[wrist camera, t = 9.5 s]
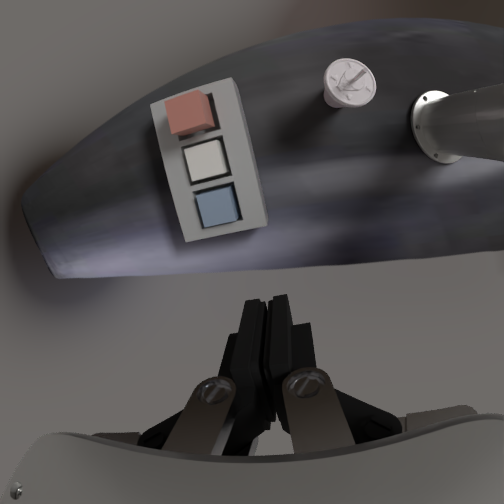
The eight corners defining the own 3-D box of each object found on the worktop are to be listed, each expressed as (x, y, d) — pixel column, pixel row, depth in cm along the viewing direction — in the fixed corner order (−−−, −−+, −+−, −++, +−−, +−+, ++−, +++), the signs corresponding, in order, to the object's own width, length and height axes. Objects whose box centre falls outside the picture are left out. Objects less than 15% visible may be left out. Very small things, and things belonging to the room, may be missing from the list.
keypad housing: (237, 86, 35) (231, 77, 30) (268, 217, 42) (267, 225, 37) (164, 109, 37) (150, 104, 32) (195, 232, 44) (185, 242, 39)
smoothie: (363, 104, 34) (400, 84, 21) (331, 124, 36) (357, 110, 23) (338, 71, 33) (364, 37, 20) (305, 90, 35) (318, 60, 22)
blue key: (233, 184, 39) (228, 187, 35) (240, 213, 40) (236, 220, 36) (204, 191, 40) (195, 195, 36) (212, 219, 41) (204, 227, 37)
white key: (223, 141, 37) (216, 139, 33) (230, 170, 38) (224, 173, 34) (194, 149, 38) (184, 149, 33) (201, 178, 39) (192, 181, 35)
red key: (207, 96, 32) (198, 89, 28) (214, 126, 33) (206, 123, 29) (176, 106, 33) (164, 101, 28) (183, 135, 34) (171, 134, 30)
